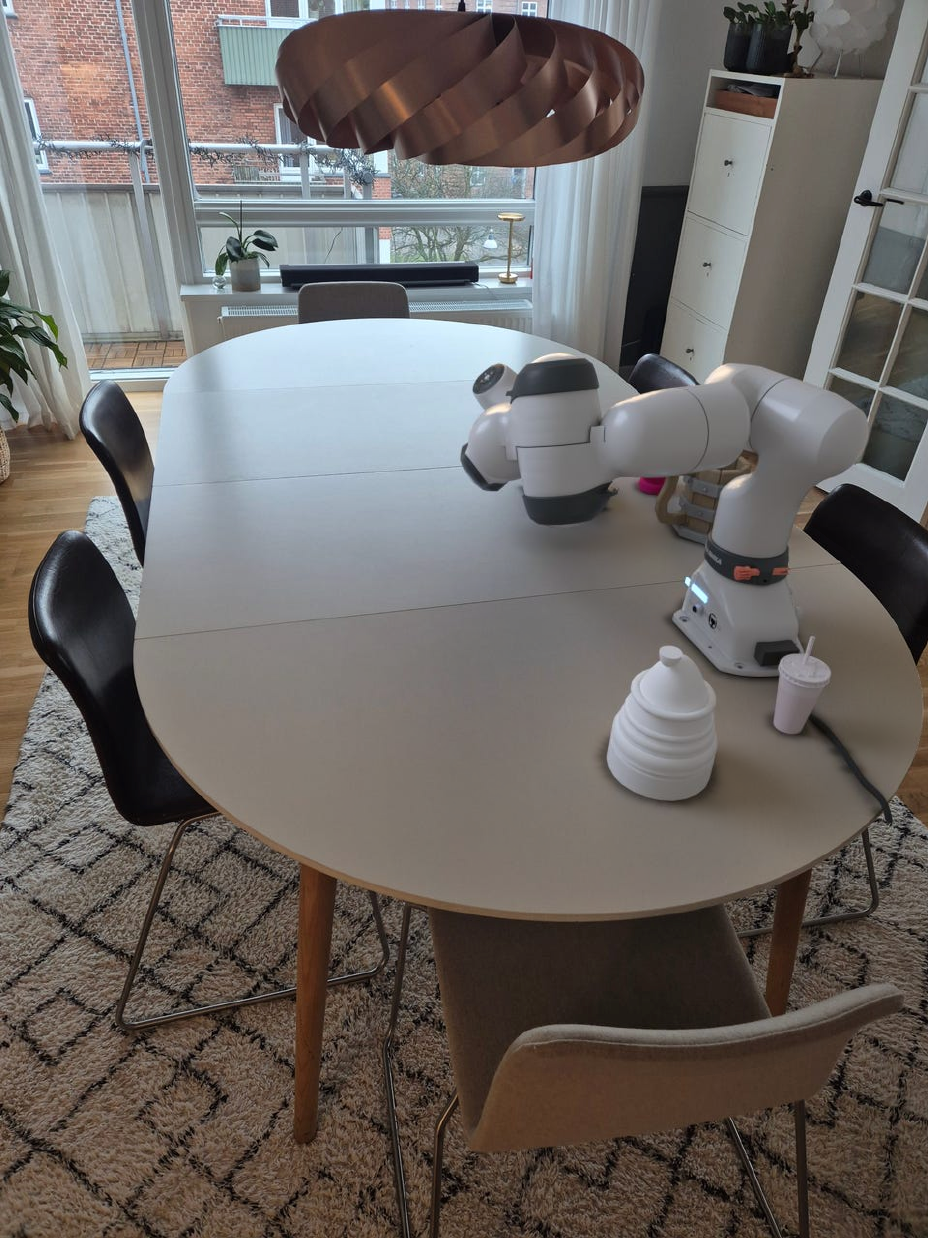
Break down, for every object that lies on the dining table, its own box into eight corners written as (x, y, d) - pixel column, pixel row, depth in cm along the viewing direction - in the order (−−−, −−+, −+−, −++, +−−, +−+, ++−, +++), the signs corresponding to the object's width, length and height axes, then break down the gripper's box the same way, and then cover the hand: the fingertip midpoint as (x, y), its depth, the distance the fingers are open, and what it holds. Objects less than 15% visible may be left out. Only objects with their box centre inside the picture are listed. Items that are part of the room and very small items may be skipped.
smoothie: (802, 710, 119) (829, 625, 112) (820, 741, 114) (849, 654, 106) (756, 710, 119) (780, 625, 111) (772, 741, 114) (798, 654, 106)
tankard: (724, 513, 171) (740, 441, 163) (751, 543, 161) (770, 468, 153) (627, 517, 168) (639, 444, 160) (649, 548, 158) (662, 471, 150)
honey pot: (660, 816, 102) (687, 694, 92) (585, 754, 110) (603, 637, 100) (731, 773, 108) (764, 656, 98) (656, 718, 117) (678, 605, 107)
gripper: (491, 424, 169) (528, 461, 179) (556, 460, 154) (592, 499, 164) (511, 398, 168) (547, 437, 178) (578, 432, 154) (613, 472, 164)
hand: (569, 467), depth 171 cm, fingers open, 7 cm apart
